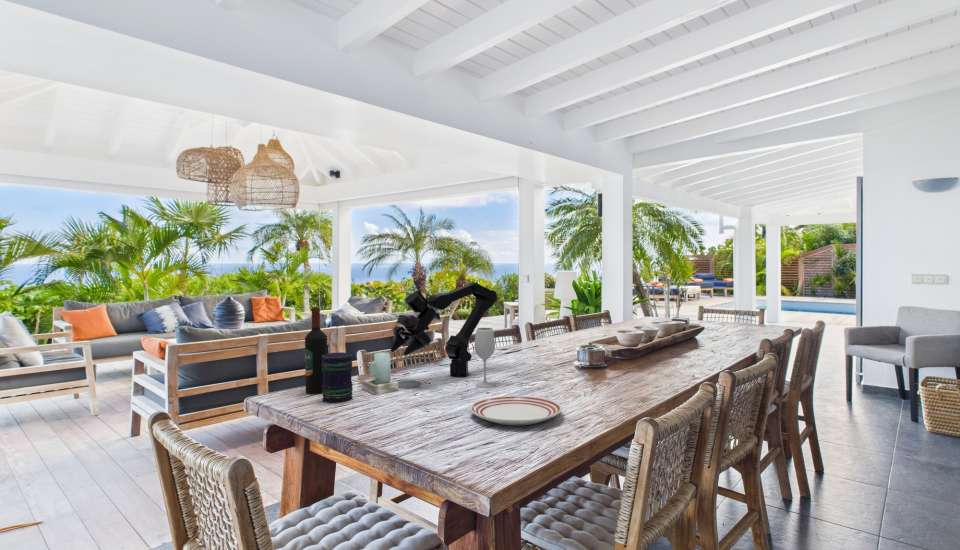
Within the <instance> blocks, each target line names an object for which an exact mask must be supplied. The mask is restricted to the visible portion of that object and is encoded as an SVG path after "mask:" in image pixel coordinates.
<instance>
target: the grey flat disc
mask: <svg viewBox="0 0 960 550" xmlns="http://www.w3.org/2000/svg"><path fill="white" fill-rule="evenodd" d="M397 382H398V389H399V388H410V389H416V388H419V387H421V386H422V385H421V384H422V382H421V381H419V380H413V379H412V380H410V379H409V380H407V379H406V380H398V381H397ZM420 385H421V386H420ZM418 386H419V387H418ZM415 387H416V388H415Z"/></svg>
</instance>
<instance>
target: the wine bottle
mask: <svg viewBox="0 0 960 550" xmlns="http://www.w3.org/2000/svg"><path fill="white" fill-rule="evenodd" d="M324 354H329V353H328V336H327V334H326V333H325V332H323V331H322V329H321V307H320V306H311V329H310V331H309V332H308V333H307V334H306V335H305V336H304V361H305V362H304V365H305V367H304V370H305V371H304V373H305V393H306V394H307V395H320V394H322V384H323V373H322V360H323V359H322V355H324ZM322 395H323V394H322Z"/></svg>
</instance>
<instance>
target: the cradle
mask: <svg viewBox="0 0 960 550" xmlns="http://www.w3.org/2000/svg"><path fill="white" fill-rule="evenodd" d="M362 389H363V390H362ZM361 390H362V391H365V392H367V391H368V392H367V393H369V392H370V393H369V394H372V393H373V394H372V395H374V394H378V395H381V394H380V393H383V394H386V393H385V392H388V393H392V392H391V391H393V392H397V391H396V390H398V391H399V388H398V381H393V382H391V383H386V384H380V385H375V378H373V379H367V380H361Z"/></svg>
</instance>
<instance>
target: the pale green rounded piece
mask: <svg viewBox="0 0 960 550" xmlns="http://www.w3.org/2000/svg"><path fill="white" fill-rule="evenodd" d="M368 365H369V366H368V367H369V368H368V370H369V373H368V374H369V376H370V377H373V376H374V379H375V385H380V384H386V383H392V382H391V380H392V379H391V373H392V372H391V353H390V352H388V351H385V352H384V351H382V352H375V353H374V362H373V361H372V362H369V363H368Z"/></svg>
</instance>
